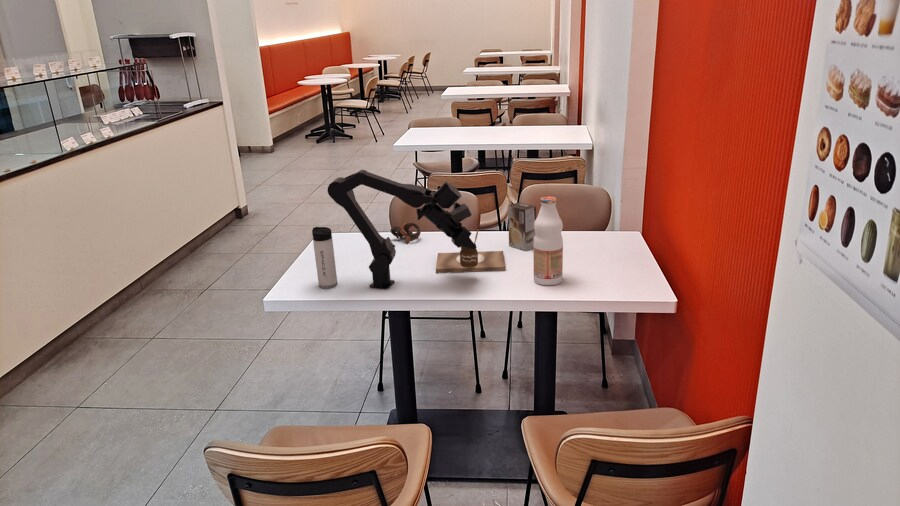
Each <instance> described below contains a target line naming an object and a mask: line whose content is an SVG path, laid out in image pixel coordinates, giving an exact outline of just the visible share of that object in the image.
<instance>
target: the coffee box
mask: <svg viewBox="0 0 900 506" xmlns="http://www.w3.org/2000/svg"><path fill="white" fill-rule="evenodd" d="M507 216H508V221H507V222H508V223H507V226H508V247H511V248H515V249H519V250H522V251H525V252H526V251H530V250H532V249H534V246H533V244H534V237H535V230H534V222H535V220H536V218H537V206H536V205H532V204H527V203H524V202H523V203H522V202H519V201H518V202H515V203H512V204H510V205H507Z"/></svg>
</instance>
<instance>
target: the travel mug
mask: <svg viewBox="0 0 900 506" xmlns="http://www.w3.org/2000/svg"><path fill="white" fill-rule="evenodd" d="M311 232H312V235H311V236H312V241H313V242H312V243H313V244H312V245H313V251H314V256H315V257H314V258H315V260H314V261H315V265H316V275H317V282H318V287H319V288H321V289H332V288H334V287H337V285H338V275H337V266H336V259H335V257H336V256H335V248H334V242H333V240H334V239H333V235H332V234H333V233H332V229H331V228H329V227H326V226H314V227H313V228H312V230H311Z"/></svg>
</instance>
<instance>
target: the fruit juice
mask: <svg viewBox="0 0 900 506" xmlns="http://www.w3.org/2000/svg"><path fill="white" fill-rule="evenodd" d="M540 205H541V206H540V209H539V211H538V214H537V215H536V220H535V222H534V230H535V237H534V244H533V246H534V248H533V281H534V283H536V284H538V285H540V286H555V285H556V286H557V285H559V284H560V283H562V281H563V269H564V268H563V267H564V266H563V264H564V263H563V262H564V261H563V260H564V254H563V253H564V241H563V236H562V231H563V227H564V224H563V220H562V219H561V217H560V215H559V212H558V209H557V206H556V205H557V198H556V197H555V196H542V197H540Z"/></svg>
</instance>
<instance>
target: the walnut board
mask: <svg viewBox="0 0 900 506" xmlns="http://www.w3.org/2000/svg"><path fill="white" fill-rule="evenodd" d="M477 252H478V264H477V266H475V267H470V268H467V267H463V266H461V264H460V251H459V252H457V251H455V252H438V253H437V259H436V263H435V264H436V266H435V273H436V274H447V272H451V273H454V274H455V273H479V272H481V273H483V272H484V273H485V272H505V271H506V262H505V255H504V250H493V251H492V250H491V251H490V250H489V251H488V250H487V251H477ZM451 273H450V274H451Z"/></svg>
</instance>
